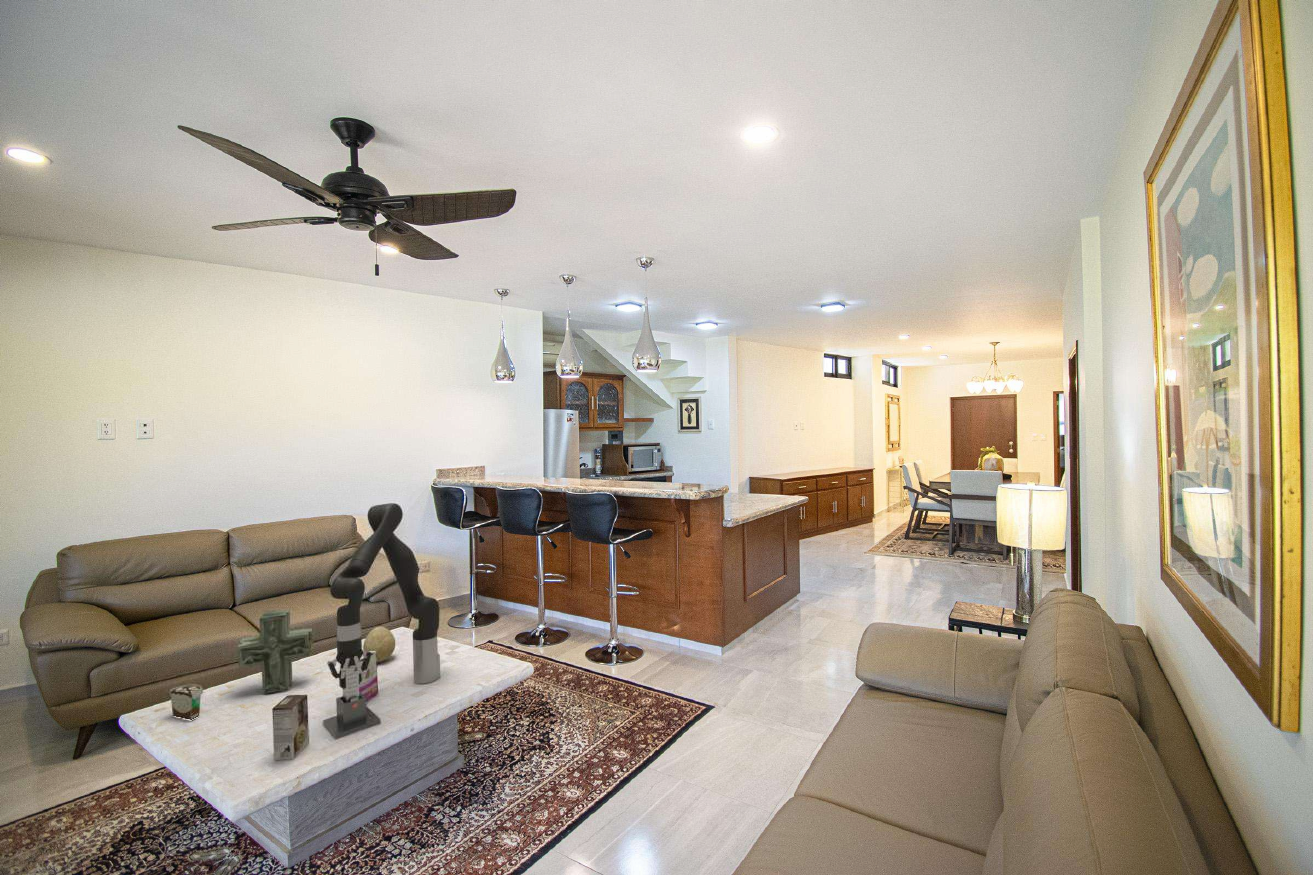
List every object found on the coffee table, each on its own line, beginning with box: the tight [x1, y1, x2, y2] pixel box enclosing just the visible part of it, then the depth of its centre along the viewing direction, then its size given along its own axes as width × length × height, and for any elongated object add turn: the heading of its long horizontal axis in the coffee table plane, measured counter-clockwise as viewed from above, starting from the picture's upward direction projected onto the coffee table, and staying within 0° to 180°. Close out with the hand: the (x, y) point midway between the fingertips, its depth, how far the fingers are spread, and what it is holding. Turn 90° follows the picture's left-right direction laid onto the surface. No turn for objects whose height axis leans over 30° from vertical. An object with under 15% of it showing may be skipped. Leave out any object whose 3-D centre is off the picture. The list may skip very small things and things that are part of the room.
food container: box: [168, 683, 204, 721], centre depth 209 cm, size 12×6×10 cm, turn 71°
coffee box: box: [271, 694, 310, 761], centre depth 183 cm, size 9×6×16 cm
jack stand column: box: [342, 667, 359, 703], centre depth 200 cm, size 4×4×16 cm
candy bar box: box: [347, 651, 379, 702], centre depth 218 cm, size 11×5×16 cm, turn 168°
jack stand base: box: [322, 692, 382, 740], centre depth 200 cm, size 14×14×10 cm
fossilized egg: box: [362, 626, 396, 663], centre depth 255 cm, size 13×13×15 cm
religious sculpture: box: [237, 608, 314, 695], centre depth 229 cm, size 24×12×30 cm, turn 114°
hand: (350, 685), depth 200 cm, fingers closed on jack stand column, 4 cm apart
